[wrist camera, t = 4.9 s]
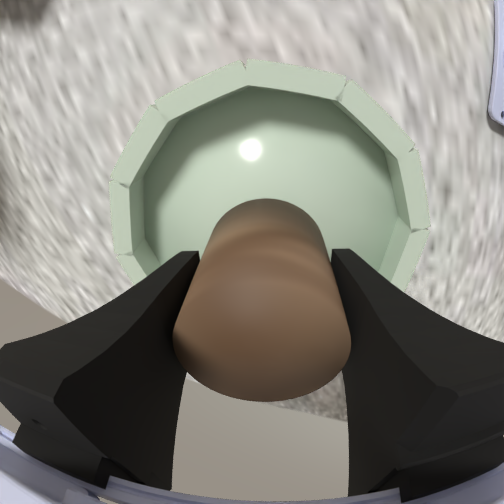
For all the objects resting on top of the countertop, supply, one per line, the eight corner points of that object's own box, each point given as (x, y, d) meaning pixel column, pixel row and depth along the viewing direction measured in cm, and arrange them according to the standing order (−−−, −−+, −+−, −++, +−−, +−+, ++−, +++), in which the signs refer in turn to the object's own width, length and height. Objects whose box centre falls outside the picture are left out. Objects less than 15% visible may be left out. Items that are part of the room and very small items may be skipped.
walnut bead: (325, 195, 10) (363, 277, 6) (322, 297, 12) (339, 397, 8) (200, 202, 10) (151, 284, 6) (218, 300, 13) (194, 399, 8)
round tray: (437, 112, 11) (462, 118, 9) (359, 338, 18) (365, 364, 16) (136, 62, 11) (113, 58, 9) (139, 307, 18) (127, 331, 16)
